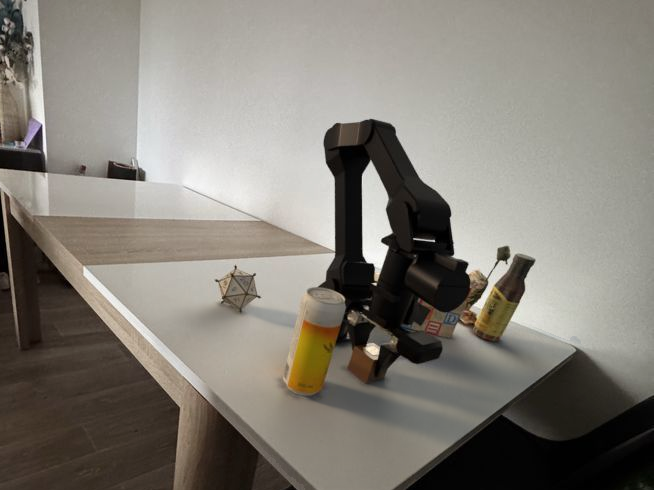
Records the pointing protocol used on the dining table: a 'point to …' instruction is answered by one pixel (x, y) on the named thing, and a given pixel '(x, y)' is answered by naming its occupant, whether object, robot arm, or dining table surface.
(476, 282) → the plant with pod
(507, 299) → the sauce bottle
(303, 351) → the beer can
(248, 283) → the game die
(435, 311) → the stack of blocks
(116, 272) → the dining table surface
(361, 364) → the wooden cube
